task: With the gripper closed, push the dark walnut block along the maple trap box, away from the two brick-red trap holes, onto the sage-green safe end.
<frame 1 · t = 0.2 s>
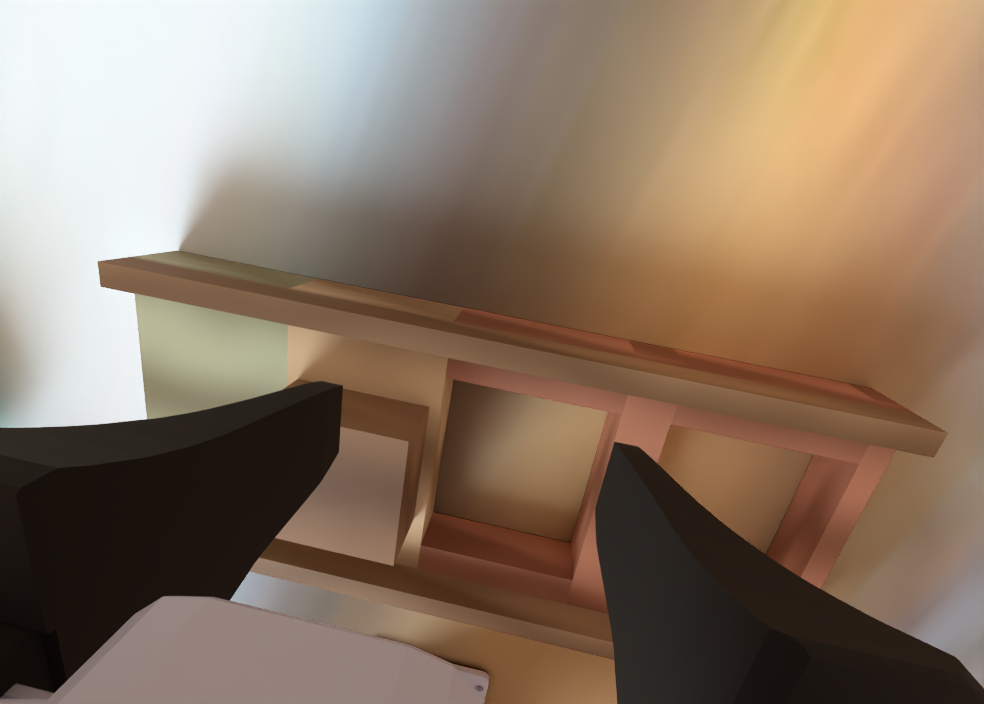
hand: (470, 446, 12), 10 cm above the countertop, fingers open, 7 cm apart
walnut block: (358, 451, 21), point 2 cm above the countertop, touching trap box
trap box: (482, 448, 23), on the countertop
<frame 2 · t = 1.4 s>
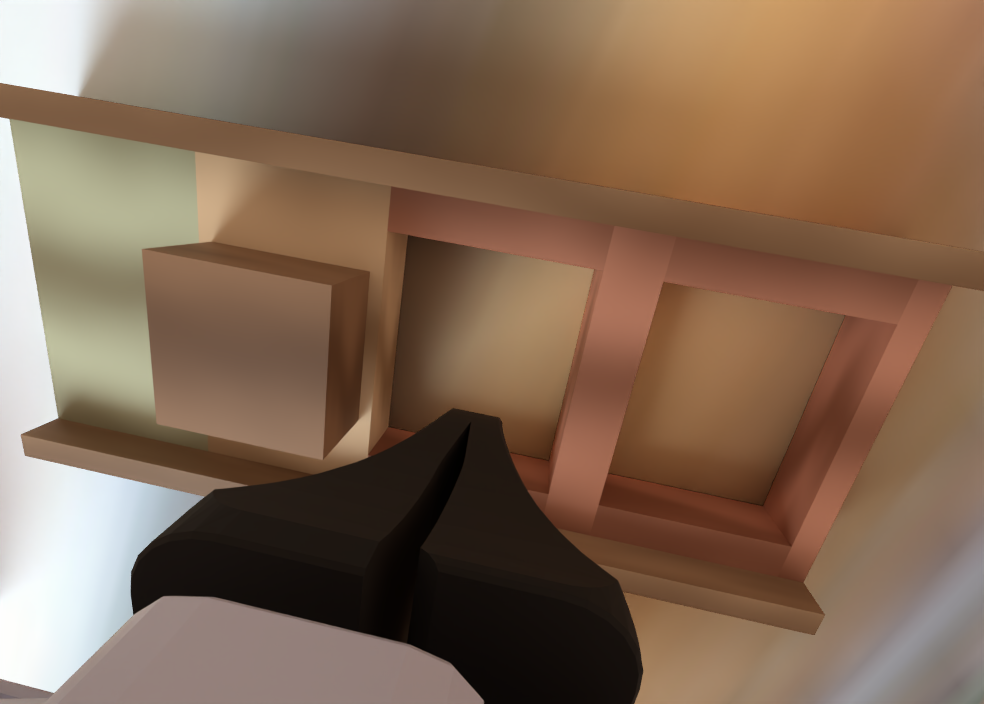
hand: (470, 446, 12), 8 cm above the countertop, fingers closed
walnut block: (288, 334, 17), point 2 cm above the countertop, touching trap box
trap box: (443, 343, 19), on the countertop
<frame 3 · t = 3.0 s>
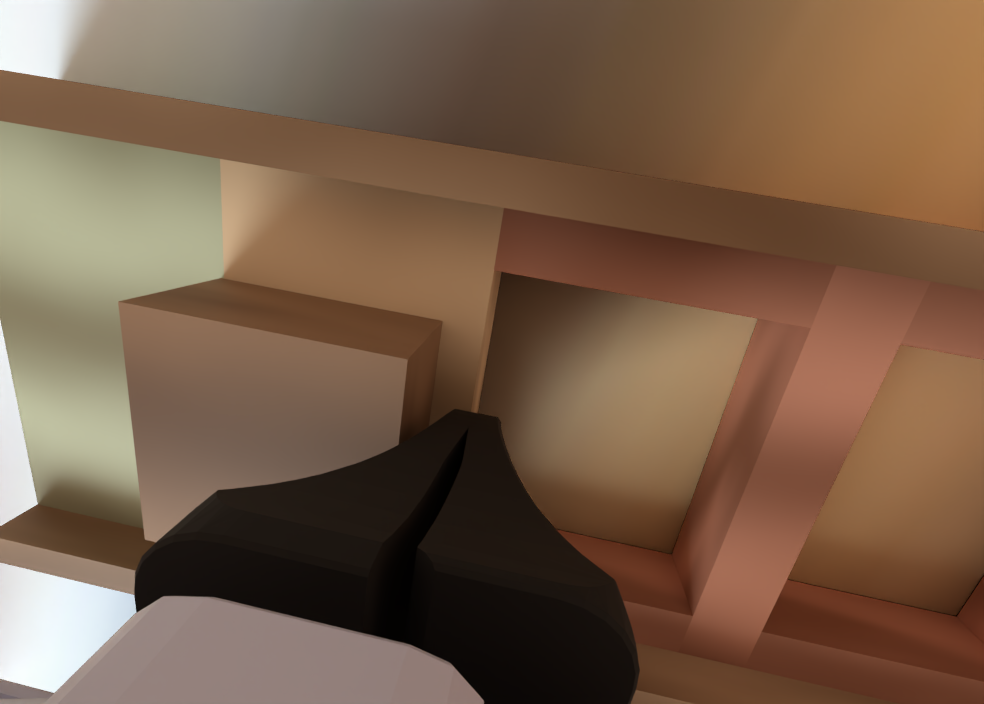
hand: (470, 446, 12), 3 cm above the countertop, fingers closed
walnut block: (325, 402, 13), point 3 cm above the countertop, touching gripper, trap box
trap box: (541, 408, 15), on the countertop
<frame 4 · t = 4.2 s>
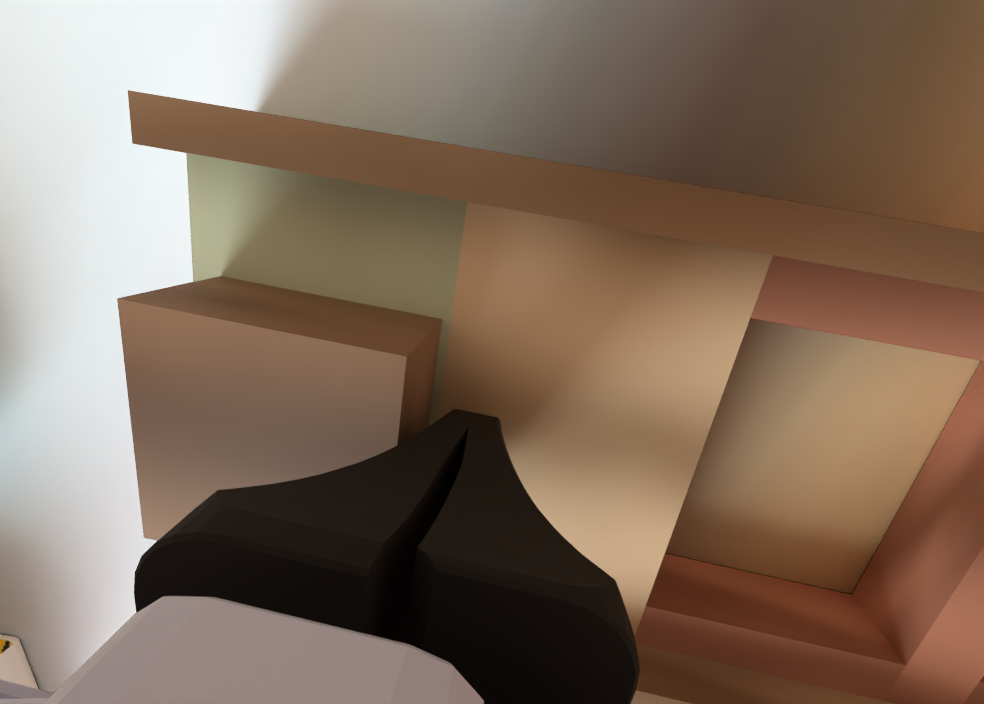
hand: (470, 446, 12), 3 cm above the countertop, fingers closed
walnut block: (324, 401, 13), point 3 cm above the countertop, touching gripper, trap box
trap box: (732, 447, 14), on the countertop
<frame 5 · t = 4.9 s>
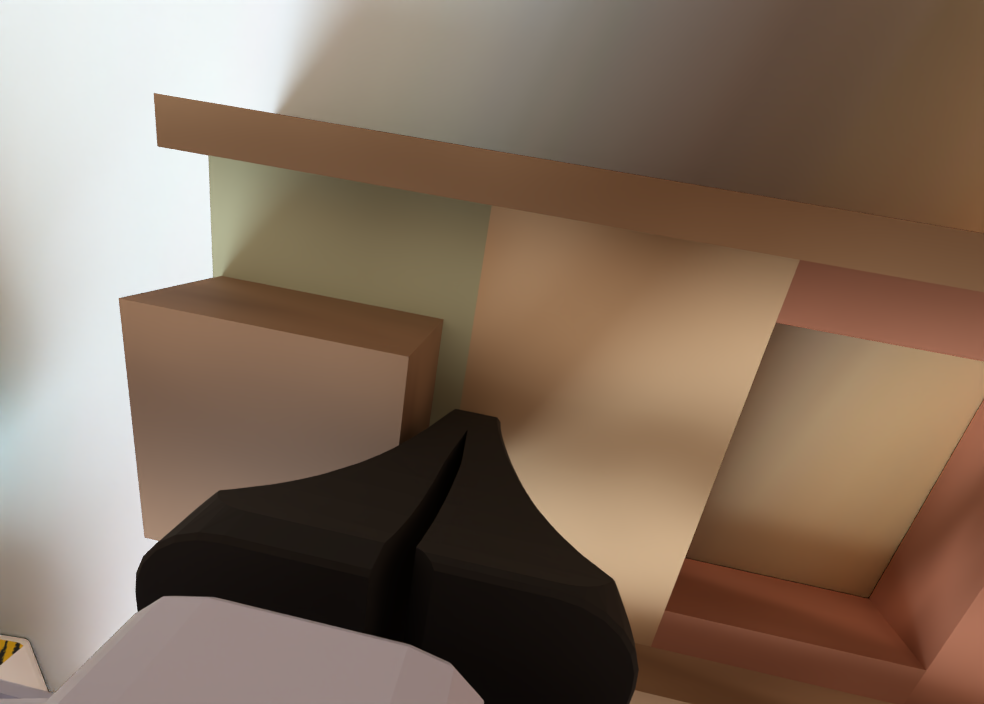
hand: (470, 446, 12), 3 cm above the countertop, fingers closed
walnut block: (325, 401, 13), point 2 cm above the countertop, touching gripper, trap box
trap box: (750, 451, 14), on the countertop
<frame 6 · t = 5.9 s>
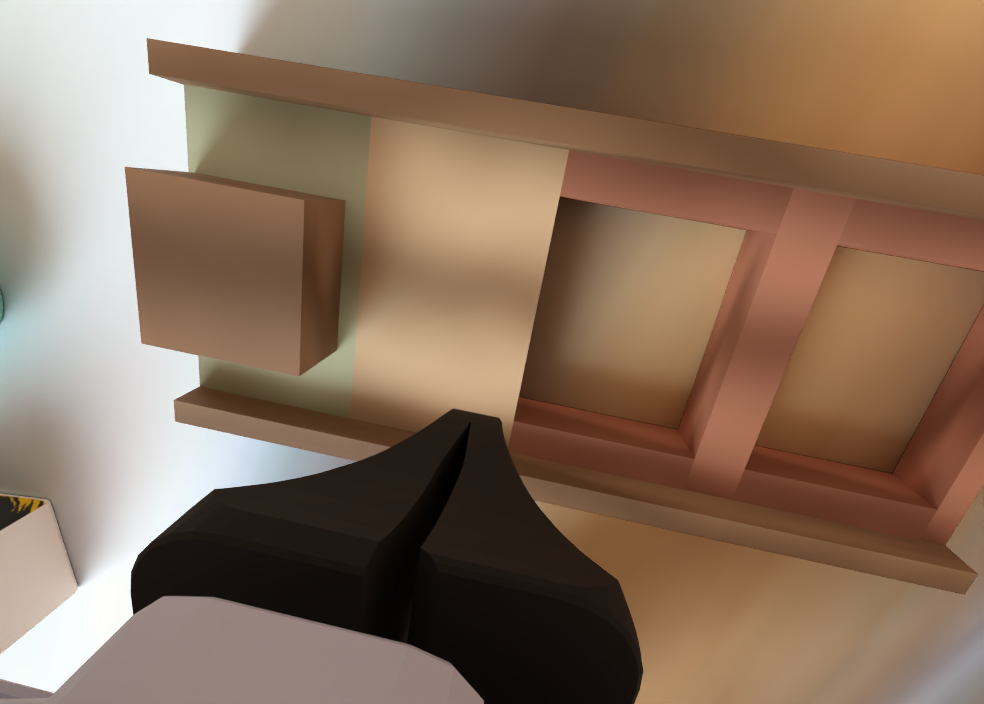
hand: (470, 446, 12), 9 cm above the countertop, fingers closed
walnut block: (269, 265, 18), point 2 cm above the countertop, touching trap box
medicine bottle: (20, 536, 29), on the countertop
trap box: (582, 313, 20), on the countertop
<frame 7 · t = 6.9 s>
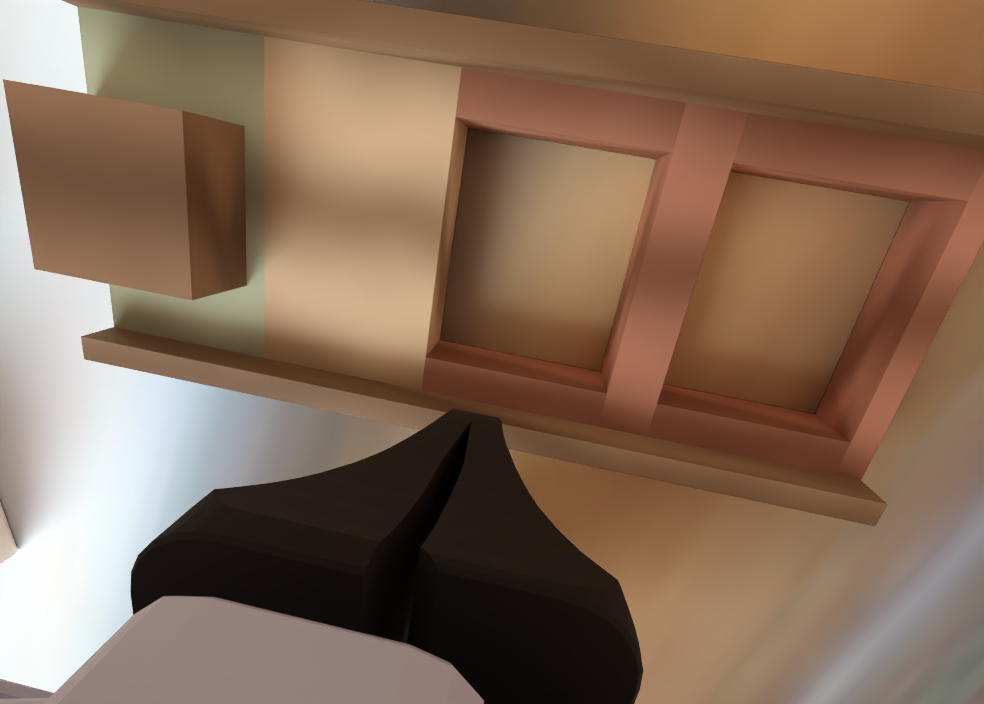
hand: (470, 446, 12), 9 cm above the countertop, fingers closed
walnut block: (173, 197, 18), point 2 cm above the countertop, touching trap box
trap box: (498, 250, 19), on the countertop
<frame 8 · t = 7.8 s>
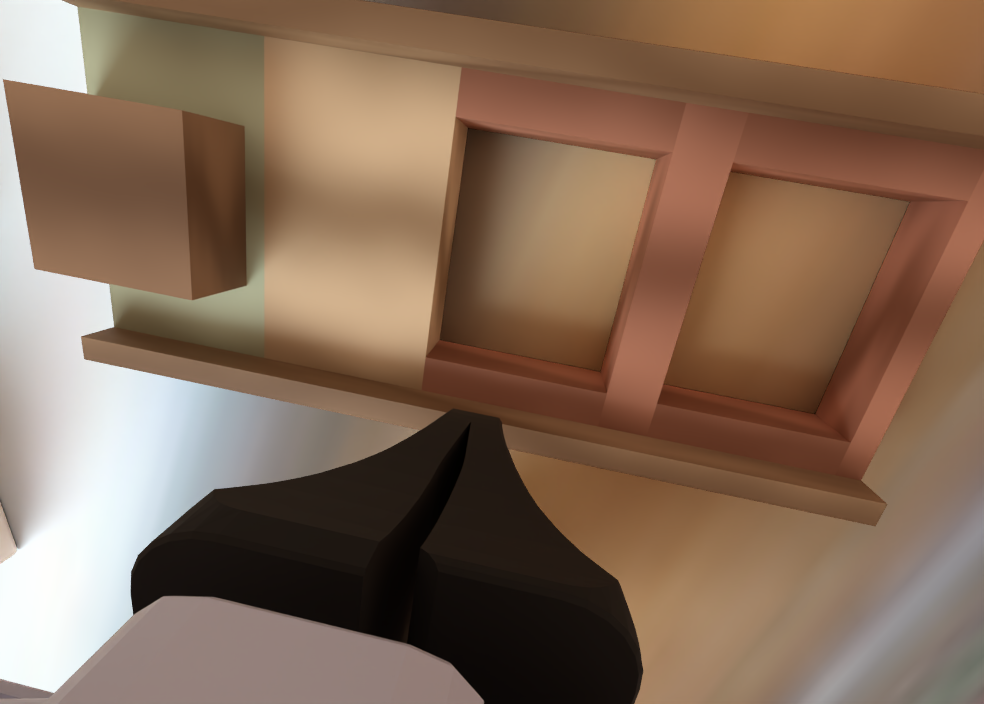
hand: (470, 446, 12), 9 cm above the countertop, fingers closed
walnut block: (173, 197, 18), point 2 cm above the countertop, touching trap box
trap box: (498, 250, 19), on the countertop
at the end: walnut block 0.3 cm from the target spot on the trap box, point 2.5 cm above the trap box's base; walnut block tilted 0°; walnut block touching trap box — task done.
